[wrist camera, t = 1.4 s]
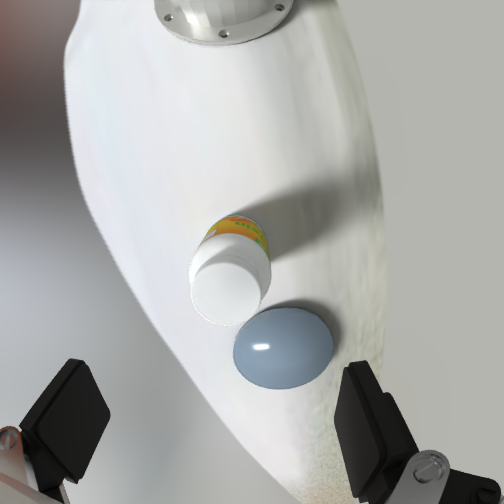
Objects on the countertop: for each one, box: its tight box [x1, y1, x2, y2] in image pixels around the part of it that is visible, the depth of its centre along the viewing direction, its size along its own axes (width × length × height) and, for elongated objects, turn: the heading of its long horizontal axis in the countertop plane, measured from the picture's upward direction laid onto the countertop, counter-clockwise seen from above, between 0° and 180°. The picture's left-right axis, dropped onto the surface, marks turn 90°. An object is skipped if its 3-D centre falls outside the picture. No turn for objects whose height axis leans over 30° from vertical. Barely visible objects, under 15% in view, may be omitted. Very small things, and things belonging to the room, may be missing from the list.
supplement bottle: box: [189, 216, 271, 326], centre depth 20 cm, size 5×5×10 cm
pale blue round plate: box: [233, 308, 334, 389], centre depth 27 cm, size 10×10×2 cm
